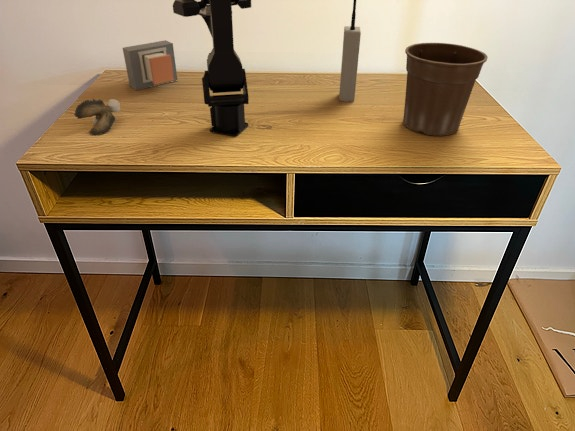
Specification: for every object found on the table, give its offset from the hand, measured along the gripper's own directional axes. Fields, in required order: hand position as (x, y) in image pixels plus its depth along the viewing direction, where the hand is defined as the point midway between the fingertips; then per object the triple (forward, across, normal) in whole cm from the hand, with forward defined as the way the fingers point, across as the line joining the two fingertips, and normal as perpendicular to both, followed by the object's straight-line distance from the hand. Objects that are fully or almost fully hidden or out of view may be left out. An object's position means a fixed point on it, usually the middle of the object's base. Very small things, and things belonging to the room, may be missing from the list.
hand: (216, 41), depth 115 cm
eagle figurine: (+12, +33, +5) cm, 36 cm away
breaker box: (+12, +12, -14) cm, 22 cm away
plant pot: (+12, -25, +49) cm, 56 cm away
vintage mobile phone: (+12, -22, +26) cm, 36 cm away
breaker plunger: (+10, +12, -12) cm, 20 cm away
